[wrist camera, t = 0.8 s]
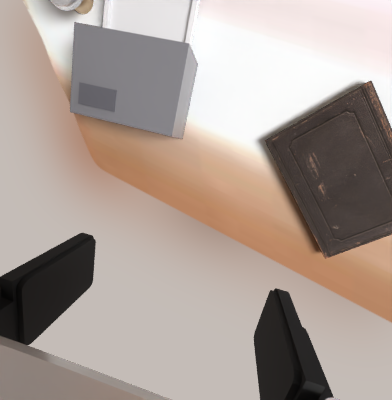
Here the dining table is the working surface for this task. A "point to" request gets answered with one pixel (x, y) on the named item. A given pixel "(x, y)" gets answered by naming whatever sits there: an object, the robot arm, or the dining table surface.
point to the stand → (84, 6)
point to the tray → (153, 18)
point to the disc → (66, 4)
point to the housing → (132, 79)
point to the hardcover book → (340, 170)
